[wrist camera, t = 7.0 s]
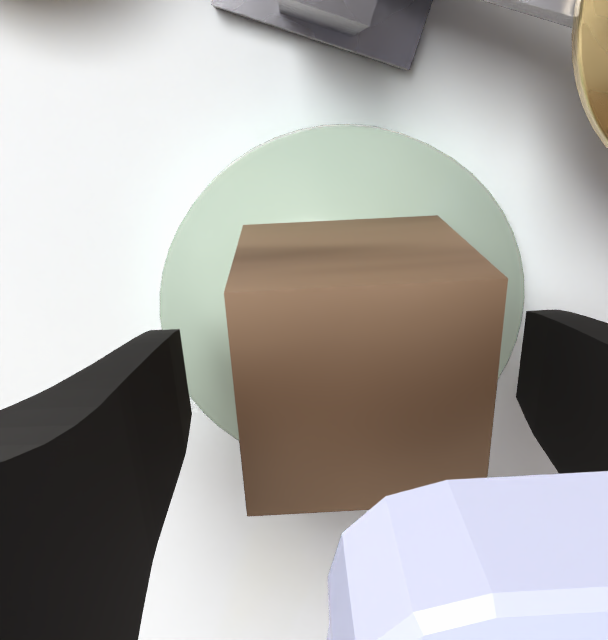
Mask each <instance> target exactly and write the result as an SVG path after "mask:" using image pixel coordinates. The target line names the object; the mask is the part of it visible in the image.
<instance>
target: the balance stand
mask: <svg viewBox="0 0 608 640" xmlns="http://www.w3.org/2000/svg"><path fill="white" fill-rule="evenodd" d="M432 1H433V0H212V1H211V5H212V6H213V7H216V8H219V9H222V10H225V11H228V12H231V13H234V14H237V15H240V16H243V17H246V18H249V19H252V20H255V21H258V22H261V23H264V24H267V25H270V26H273V27H277V28H280V29H283V30H286V31H289V32H292V33H295V34H298V35H301V36H304V37H307V38H310V39H313V40H316V41H319V42H322V43H325V44H328V45H331V46H334V47H337V48H340V49H343V50H346V51H349V52H352V53H355V54H358V55H361V56H364V57H367V58H370V59H373V60H377V61H380V62H383V63H386V64H389V65H392V66H395V67H398V68H401V69H404V70H410V67H411V64H412V61H413V58H414V55H415V52H416V49H417V46H418V43H419V40H420V37H421V34H422V31H423V28H424V25H425V22H426V19H427V16H428V13H429V10H430V7H431V4H432Z"/></svg>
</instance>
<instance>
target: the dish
mask: <svg viewBox="0 0 608 640" xmlns="http://www.w3.org/2000/svg"><path fill="white" fill-rule="evenodd" d="M434 215H438V216H439V217H440V218H441V219H442V220H443V221H445V222H446V223H447V224H448V225H449V226H450V227H451V228H452V229H453V230H455V231H456V232H457V233H458V234H459V235H460V236H461V237H462V238H464V239H465V240H466V241H467V242H468V243H469V244H470V245H471V246H472V247H474V248H475V249H476V250H477V251H478V252H479V253H480V254H481V255H483V256H484V257H485V258H486V259H487V260H488V261H489V262H490V263H491V264H493V265H494V266H495V267H496V268H497V269H498V270H499V271H500V272H502V273H503V274H504V275H505V276H506V277H507V278H508V285H507V295H506V304H505V314H504V323H503V332H502V342H501V351H500V361H499V370H498V378H499V376H500V375H501V373H502V371H503V369H504V367H505V366H506V364H507V362H508V360H509V357H510V355H511V353H512V350H513V348H514V345H515V343H516V340H517V336H518V332H519V328H520V324H521V320H522V312H523V304H524V275H523V269H522V262H521V256H520V252H519V249H518V246H517V243H516V240H515V236H514V233H513V231H512V229H511V227H510V225H509V223H508V221H507V219H506V217H505V215H504V213H503V211H502V209H501V208H500V206H499V205H498V203H497V202H496V201H495V199H494V198H493V196H492V195H491V193H490V192H489V191H488V190H487V189H486V188H485V187H484V185H483V184H482V183H481V182H480V181H479V180H478V179H477V178H476V177H475V176H474V175H473V174H472V173H471V172H470V171H468V170H467V169H466V168H465V167H463V166H462V165H461V164H459V163H458V162H457V161H456V160H454V159H453V158H451V157H450V156H448V155H446V154H444V153H443V152H441V151H439V150H437V149H436V148H434V147H432V146H430V145H428V144H426V143H424V142H422V141H420V140H417V139H414V138H412V137H409V136H407V135H404V134H402V133H399V132H396V131H392V130H388V129H383V128H379V127H375V126H366V125H355V124H336V125H321V126H316V127H310V128H305V129H300V130H296V131H293V132H290V133H287V134H284V135H281V136H278V137H275V138H273V139H271V140H269V141H267V142H265V143H263V144H261V145H259V146H257V147H255V148H253V149H251V150H250V151H248V152H247V153H245V154H244V155H242V156H241V157H239V158H238V159H236V160H235V161H233V162H232V163H231V164H230V165H228V166H227V167H226V168H225V169H224V170H223V171H222V172H221V173H220V174H218V175H217V176H216V177H215V178H214V179H213V180H212V181H211V183H210V184H209V185H208V186H207V187H206V189H205V190H204V191H203V192H202V193H201V194H200V196H199V197H198V198H197V200H196V201H195V202H194V204H193V205H192V206H191V208H190V210H189V211H188V213H187V214H186V216H185V218H184V219H183V221H182V222H181V224H180V226H179V227H178V230H177V232H176V234H175V237H174V239H173V241H172V243H171V246H170V248H169V251H168V254H167V258H166V261H165V265H164V269H163V273H162V280H161V288H160V320H161V327H162V330H169V329H180V335H181V342H182V349H183V356H184V363H185V370H186V377H187V384H188V391H189V396H190V397H191V398H192V399H193V401H194V402H195V403H196V404H197V405H198V407H199V408H200V409H201V410H202V411H203V412H204V413H205V414H206V415H207V416H208V417H209V418H210V419H211V420H212V421H213V422H214V423H215V424H217V425H218V426H219V427H220V428H221V429H223V430H224V431H226V432H227V433H228V434H230V435H231V436H233V437H234V438H235V439H237V440H239V433H238V424H237V414H236V405H235V395H234V385H233V376H232V366H231V357H230V347H229V338H228V328H227V319H226V309H225V300H224V290H225V287H226V283H227V280H228V276H229V273H230V269H231V266H232V262H233V259H234V255H235V252H236V248H237V245H238V241H239V237H240V234H241V230H242V227H243V225H250V224H271V223H291V222H312V221H332V220H352V219H373V218H393V217H414V216H434Z"/></svg>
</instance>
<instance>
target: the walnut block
mask: <svg viewBox="0 0 608 640" xmlns="http://www.w3.org/2000/svg"><path fill="white" fill-rule="evenodd" d="M507 285H508V278H507V277H506V276H505V275H504V274H503V273H502V272H500V271H499V270H498V269H497V268H496V267H495V266H494V265H493V264H491V263H490V262H489V261H488V260H487V259H486V258H485V257H484V256H483V255H481V254H480V253H479V252H478V251H477V250H476V249H475V248H474V247H472V246H471V245H470V244H469V243H468V242H467V241H466V240H465V239H464V238H462V237H461V236H460V235H459V234H458V233H457V232H456V231H455V230H453V229H452V228H451V227H450V226H449V225H448V224H447V223H446V222H445V221H443V220H442V219H441V218H440V217H439V216H438V215H434V216H414V217H393V218H373V219H352V220H332V221H312V222H291V223H271V224H250V225H243V227H242V230H241V234H240V237H239V241H238V245H237V248H236V252H235V255H234V259H233V262H232V266H231V269H230V273H229V276H228V280H227V283H226V287H225V290H224V300H225V309H226V319H227V328H228V338H229V347H230V357H231V366H232V376H233V385H234V395H235V405H236V414H237V424H238V433H239V443H240V452H241V462H242V471H243V481H244V490H245V500H246V509H247V516H263V515H281V514H299V513H317V512H335V511H353V510H370V509H371V508H372V507H373V506H375V505H376V504H377V503H378V502H379V501H381V500H382V499H383V498H384V497H385V496H389V495H392V494H396V493H400V492H403V491H407V490H411V489H415V488H418V487H422V486H426V485H430V484H433V483H437V482H441V481H445V480H453V479H472V478H487V474H488V465H489V455H490V446H491V437H492V427H493V418H494V408H495V399H496V389H497V380H498V370H499V361H500V351H501V342H502V332H503V323H504V314H505V304H506V295H507Z"/></svg>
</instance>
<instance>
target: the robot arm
mask: <svg viewBox="0 0 608 640" xmlns="http://www.w3.org/2000/svg"><path fill="white" fill-rule="evenodd" d="M516 398H517V400H518V402H519V405H520V407H521V409H522V411H523V414H524V416H525V418H526V420H527V422H528V424H529V426H530V428H531V430H532V433H533V434H534V436H535V438H536V439H537V441H538V442H539V444H540V445H541V447H542V448H543V450H544V451H545V453H546V454H547V456H548V457H549V459H550V460H551V462H552V463H553V465H554V466H555V468H556V469H557V471H558V472H559V474H545V475H527V476H509V477H490V478H472V479H453V480H445V481H441V482H437V483H433V484H430V485H426V486H422V487H418V488H415V489H411V490H407V491H403V492H400V493H396V494H392V495H389V496H385V497H384V498H383V499H382V500H381V501H379V502H378V503H377V504H376V505H375V506H373V507H372V508H371V509H370V510H369V511H367V512H366V513H365V514H364V515H363V516H362V517H360V518H359V519H358V520H357V521H356V522H354V523H353V524H352V525H351V526H350V527H348V528H347V529H346V530H345V531H344V532H342V534H341V538H340V541H339V544H338V547H337V550H336V553H335V556H334V559H333V563H332V566H331V569H330V572H329V575H328V599H329V629H328V636H327V640H608V323H605V322H602V321H599V320H596V319H593V318H590V317H586V316H583V315H579V314H576V313H572V312H567V311H562V310H539V311H526V319H525V328H524V336H523V344H522V352H521V360H520V369H519V377H518V385H517V393H516ZM191 416H192V412H191V405H190V398H189V391H188V384H187V377H186V370H185V363H184V356H183V349H182V342H181V335H180V329H169V330H150V331H148V332H145V333H143V334H141V335H139V336H137V337H136V338H134V339H132V340H130V341H129V342H127V343H126V344H124V345H122V346H121V347H119V348H118V349H116V350H114V351H113V352H111V353H110V354H108V355H106V356H105V357H103V358H101V359H100V360H98V361H97V362H95V363H93V364H92V365H90V366H88V367H86V368H85V369H83V370H81V371H79V372H78V373H76V374H74V375H72V376H71V377H69V378H67V379H65V380H63V381H62V382H60V383H58V384H56V385H54V386H53V387H51V388H49V389H47V390H45V391H43V392H41V393H38V394H36V395H34V396H32V397H30V398H28V399H25V400H23V401H21V402H19V403H16V404H14V405H12V406H10V407H7V408H5V409H2V410H0V640H138V636H139V630H140V624H141V619H142V613H143V608H144V603H145V597H146V592H147V587H148V582H149V577H150V572H151V567H152V562H153V558H154V554H155V551H156V547H157V543H158V540H159V537H160V533H161V530H162V527H163V524H164V521H165V518H166V515H167V511H168V508H169V505H170V502H171V499H172V496H173V493H174V489H175V486H176V483H177V480H178V477H179V473H180V470H181V467H182V464H183V460H184V457H185V454H186V448H187V442H188V436H189V430H190V423H191Z"/></svg>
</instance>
